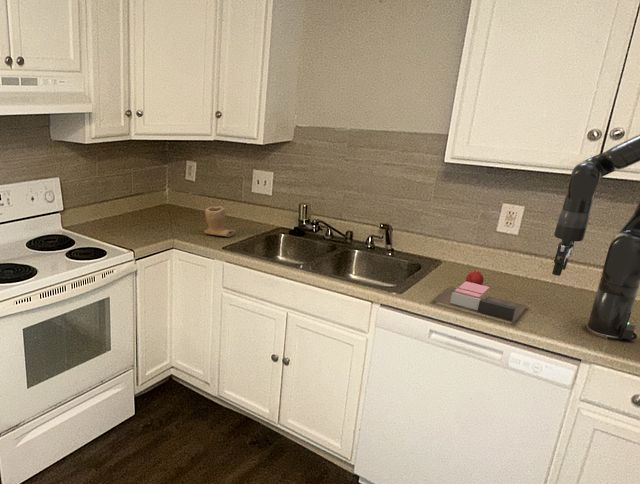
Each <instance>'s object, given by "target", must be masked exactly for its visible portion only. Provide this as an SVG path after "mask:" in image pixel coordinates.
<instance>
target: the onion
mask: <svg viewBox="0 0 640 484" xmlns="http://www.w3.org/2000/svg"><path fill="white" fill-rule="evenodd" d="M465 282H471V283H475V284H479V285H483V284H484V276H483V275H482V273H481V272H480V271H479V269H477V268H476V269H474V270H473V271H471V272H469V273H467V275H466V278H465Z"/></svg>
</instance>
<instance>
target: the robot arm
mask: <svg viewBox="0 0 640 484" xmlns="http://www.w3.org/2000/svg"><path fill="white" fill-rule="evenodd" d="M639 162H640V134H638V135H635V136H633V137H631V138H629V139H627V140H626V139H625V140H624V141H622V142H620V143H619V144H616V145H615V146H612V147H611V148H609V149H607V150H605V151H604V152H601V153H598V154H596V155H593V156H591V157H589V158H587V159H585V160H582V161H580V162H578V163H577V164H576V165H575V166H574V167H573V168H572V171H571V174H570V179H569V182H568V188H567V193H566V195H565V198H564V200H563V204H562V208H561V211H560V213H559V216H558V219H557V222H556V226H555V230H554V233H553V236H554V237H555V238H556V239H560V240H561V241H559V242H558V243H557V247H556V251H555V255H554V259H553V263H554V265H553V268H552V272H551V275H553V276H557V277H560V276H561V275H562V272H563V271H565V270H566V268H567V266H568V262H569V259H570V258H571V256H572V254H573V251H574V249H575V247H576V245H575V242H582V241H583V240H584V239H585V235H586V232H587V228H588V225H589V221H590V215H591V211H592V208H593V203H594V200H595V199H594V196H595V193H596V191H597V187H598V184H599V181H600V179H601V178H603V177H605V176H607V175H609V174H611V173H614V172H615V171H619V170H624V169H626V168H628V167H631V166H633V165H635V164H637V163H639ZM639 288H640V200H639V202H638V203H637V206H636V208H635V210H634V212H633V214H632V215H631V217H629V219H628V221H626V223H625V224H624V225H623V227H621V229H620V230H619V231H618V232H617V233H616V234H615V236H614V237H613V238H612V240H611V242H610V243H609V247H608V250H607V254H606V257H605V261H604V264H603V268H602V272H601V276H600V280H599V283H598V287H597V290H596V293H595V297H594V300H593V304H592V307H591V311H590V314H589V318H588V321H587V325H586V328H587V329H588V330H589V331H591V332H594V333H596V334H600V335H603V336H606V339H612V340H620V341H624V339H626V340H628V341H633V340H636V339H637V338H638V334H637V333H636V332H635V330H636V329H635V328H636V325H633V324H630V319H631V315H632V311H633V309H634V305H635V301H636V298H637V294H638V291H639Z"/></svg>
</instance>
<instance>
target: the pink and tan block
mask: <svg viewBox="0 0 640 484" xmlns="http://www.w3.org/2000/svg"><path fill="white" fill-rule="evenodd" d="M454 293H457V294H461V295H465V296H469V297H473V298H477V299H481V297H482V294H478V293H473V292H469V291H465V290H461V289H456V290H455V291H454Z"/></svg>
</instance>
